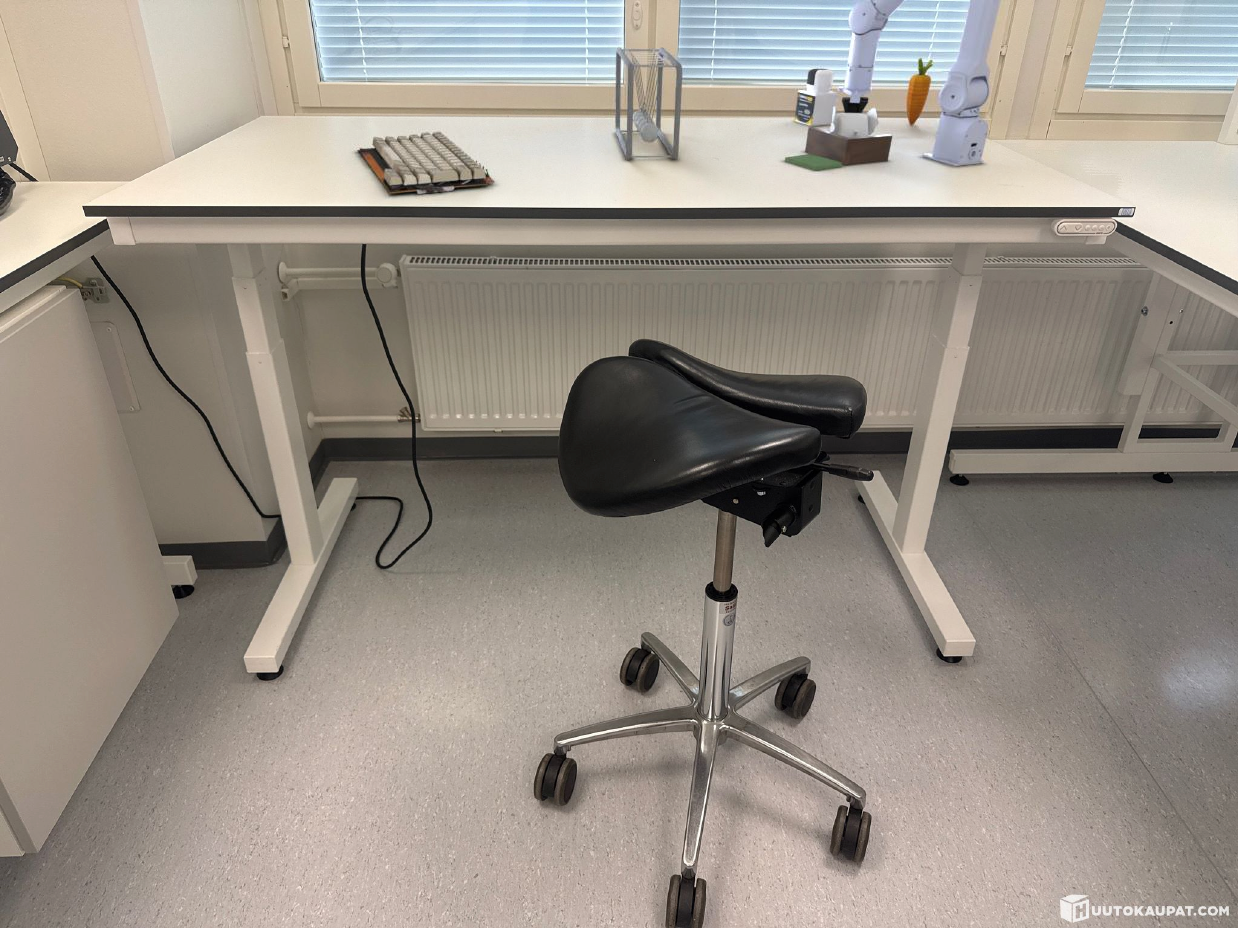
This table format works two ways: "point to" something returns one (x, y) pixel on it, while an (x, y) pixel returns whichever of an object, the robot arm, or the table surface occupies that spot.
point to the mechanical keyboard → (423, 164)
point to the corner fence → (848, 147)
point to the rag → (813, 162)
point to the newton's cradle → (642, 116)
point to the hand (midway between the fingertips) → (849, 132)
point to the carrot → (918, 92)
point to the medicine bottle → (817, 99)
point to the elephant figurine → (854, 123)
